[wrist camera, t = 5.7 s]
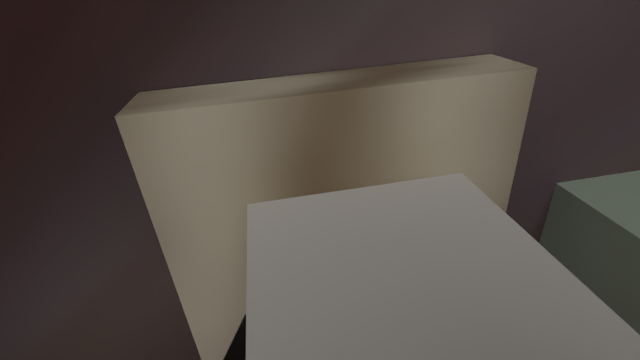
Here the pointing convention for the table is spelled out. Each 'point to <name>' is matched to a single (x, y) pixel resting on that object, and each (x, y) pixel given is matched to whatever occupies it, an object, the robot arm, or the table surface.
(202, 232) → the slab
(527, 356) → the white block
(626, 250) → the sage block
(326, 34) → the table surface
